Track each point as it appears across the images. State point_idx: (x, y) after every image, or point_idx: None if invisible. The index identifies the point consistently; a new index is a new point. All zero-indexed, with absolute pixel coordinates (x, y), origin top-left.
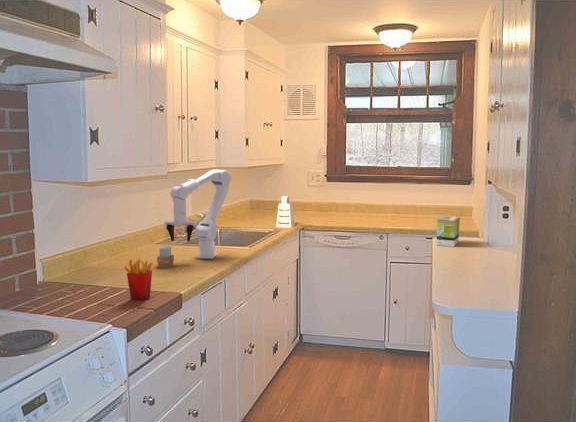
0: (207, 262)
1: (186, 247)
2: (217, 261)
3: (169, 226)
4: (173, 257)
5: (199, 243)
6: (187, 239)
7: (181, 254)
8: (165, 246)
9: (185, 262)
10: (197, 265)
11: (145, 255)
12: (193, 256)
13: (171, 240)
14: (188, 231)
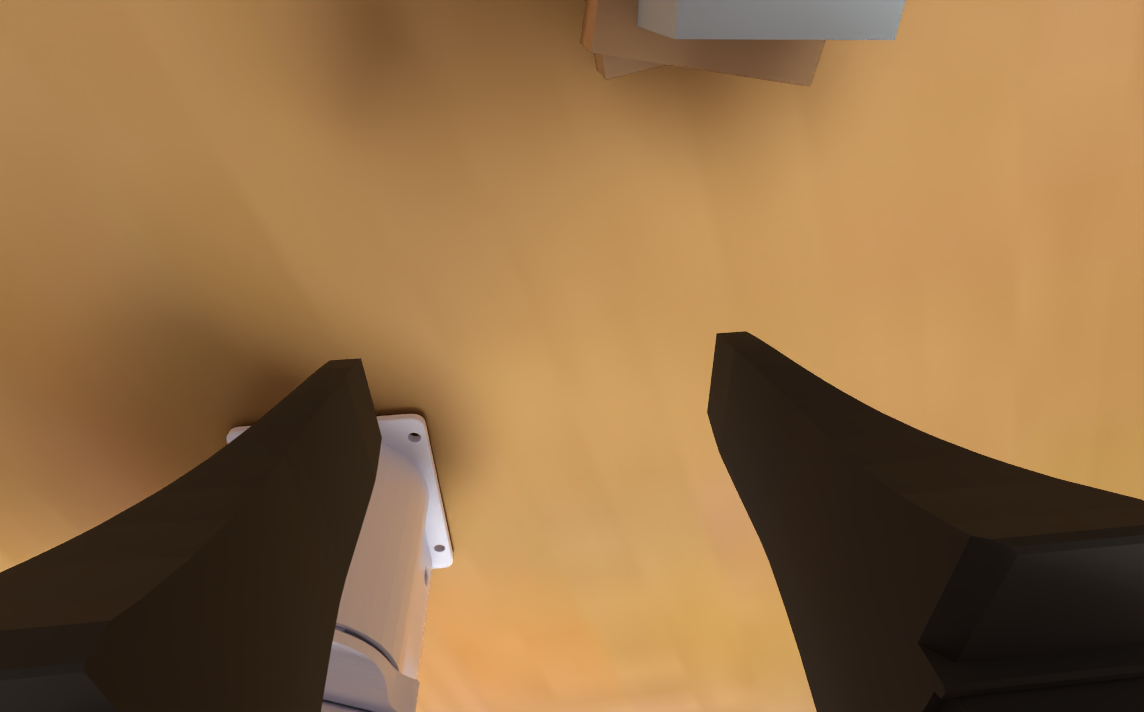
0: (179, 263)
1: (680, 706)
2: (87, 333)
3: (1044, 662)
4: (589, 27)
5: (366, 586)
6: (336, 374)
7: (653, 534)
8: (823, 33)
9: (473, 219)
10: (201, 55)
11: (1002, 448)
12: (503, 490)
13: (751, 337)
14: (164, 521)
